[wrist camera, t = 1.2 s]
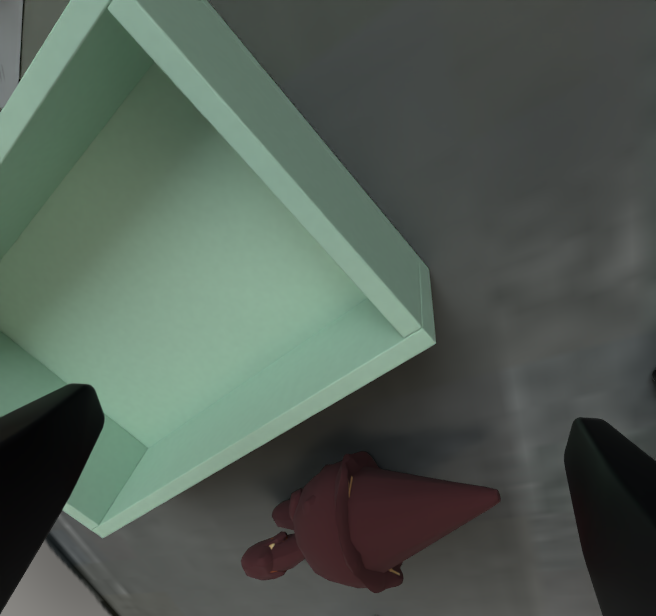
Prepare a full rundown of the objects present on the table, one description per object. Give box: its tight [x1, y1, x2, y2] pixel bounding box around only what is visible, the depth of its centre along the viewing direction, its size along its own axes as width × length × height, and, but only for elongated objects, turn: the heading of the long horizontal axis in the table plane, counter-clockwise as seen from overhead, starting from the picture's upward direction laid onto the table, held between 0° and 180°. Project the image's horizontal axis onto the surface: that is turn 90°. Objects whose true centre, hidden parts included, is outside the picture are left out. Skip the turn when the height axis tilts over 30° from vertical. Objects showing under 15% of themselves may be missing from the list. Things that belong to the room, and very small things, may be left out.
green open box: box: [0, 0, 436, 538], centre depth 21 cm, size 15×22×6 cm
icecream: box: [241, 451, 501, 593], centre depth 25 cm, size 7×7×15 cm
